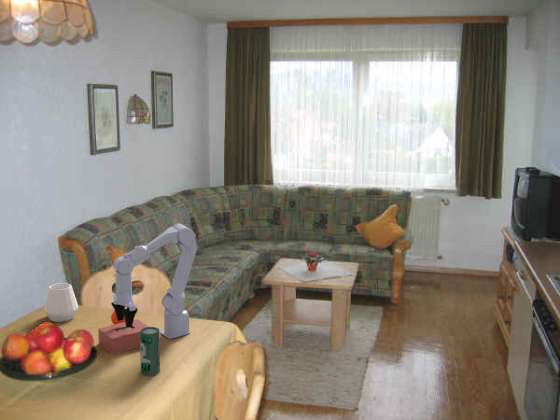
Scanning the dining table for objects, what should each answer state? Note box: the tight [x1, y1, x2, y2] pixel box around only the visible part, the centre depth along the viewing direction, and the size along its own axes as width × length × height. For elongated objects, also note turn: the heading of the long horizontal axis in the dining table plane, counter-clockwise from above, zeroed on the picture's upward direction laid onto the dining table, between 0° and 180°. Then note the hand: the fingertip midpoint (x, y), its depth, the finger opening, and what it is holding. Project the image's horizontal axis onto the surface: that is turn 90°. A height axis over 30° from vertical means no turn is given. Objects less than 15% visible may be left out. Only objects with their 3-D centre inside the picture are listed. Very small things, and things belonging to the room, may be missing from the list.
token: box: [117, 327, 131, 332], centre depth 214 cm, size 5×2×5 cm, turn 128°
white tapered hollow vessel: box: [43, 282, 79, 323], centre depth 237 cm, size 13×13×14 cm
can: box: [139, 326, 161, 377], centre depth 192 cm, size 6×6×15 cm
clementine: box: [110, 310, 125, 325], centre depth 231 cm, size 8×7×7 cm
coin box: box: [97, 318, 149, 355], centre depth 214 cm, size 16×12×6 cm
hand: (124, 323), depth 213 cm, fingers open, 7 cm apart
